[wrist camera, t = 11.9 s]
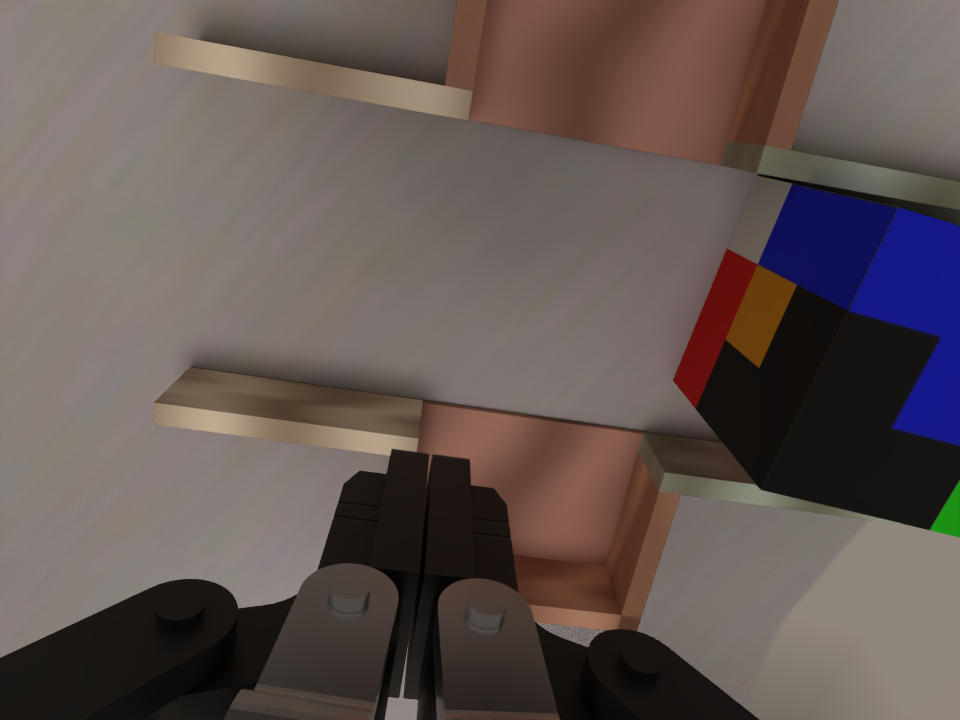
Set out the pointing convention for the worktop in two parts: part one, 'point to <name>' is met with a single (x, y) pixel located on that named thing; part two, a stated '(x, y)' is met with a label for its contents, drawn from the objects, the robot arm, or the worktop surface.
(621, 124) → the open sectioned tray
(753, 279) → the puzzle toy
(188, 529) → the worktop surface
